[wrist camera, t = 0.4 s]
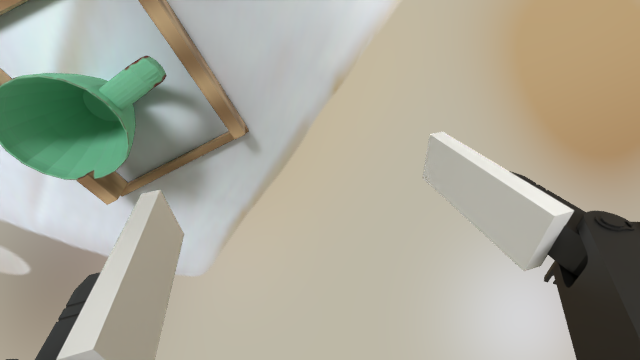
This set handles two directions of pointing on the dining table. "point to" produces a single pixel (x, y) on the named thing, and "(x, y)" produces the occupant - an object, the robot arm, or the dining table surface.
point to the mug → (74, 119)
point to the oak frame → (196, 66)
